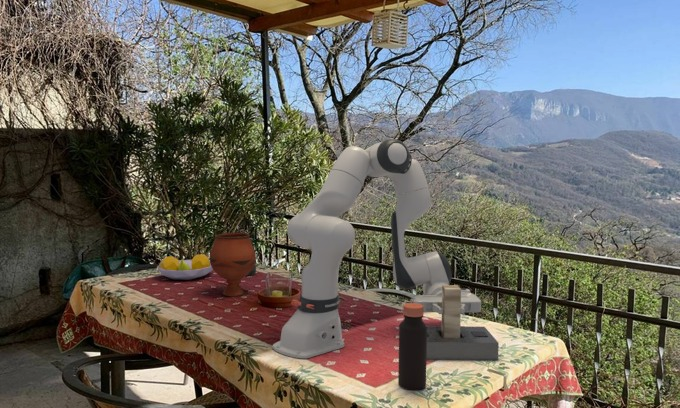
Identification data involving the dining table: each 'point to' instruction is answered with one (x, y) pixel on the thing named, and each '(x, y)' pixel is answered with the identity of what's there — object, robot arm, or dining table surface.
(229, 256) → the goblet
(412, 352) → the bottle
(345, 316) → the dining table surface
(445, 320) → the birch peg
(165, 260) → the fruit bowl
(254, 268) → the jar
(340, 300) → the pliers
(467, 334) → the socket block
